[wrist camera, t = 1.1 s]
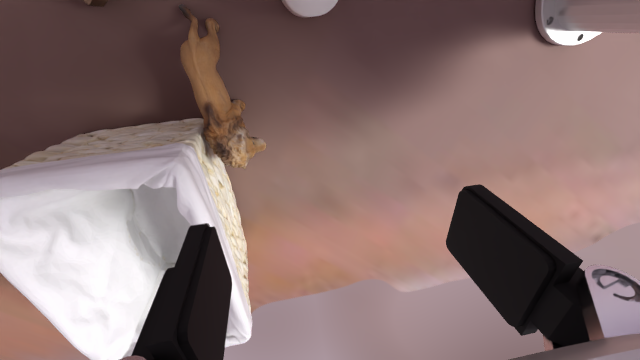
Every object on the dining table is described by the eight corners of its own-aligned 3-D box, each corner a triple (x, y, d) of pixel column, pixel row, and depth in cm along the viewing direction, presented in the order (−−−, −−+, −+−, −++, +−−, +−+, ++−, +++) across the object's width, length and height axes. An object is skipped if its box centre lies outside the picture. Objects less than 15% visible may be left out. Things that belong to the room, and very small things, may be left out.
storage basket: (62, 119, 29) (-96, 195, 16) (217, 101, 30) (184, 156, 18) (152, 270, 41) (102, 379, 28) (258, 251, 43) (255, 345, 30)
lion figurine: (269, 132, 33) (271, 164, 26) (230, 147, 33) (219, 184, 26) (206, -5, 25) (181, -17, 18) (154, 15, 25) (107, 12, 18)
